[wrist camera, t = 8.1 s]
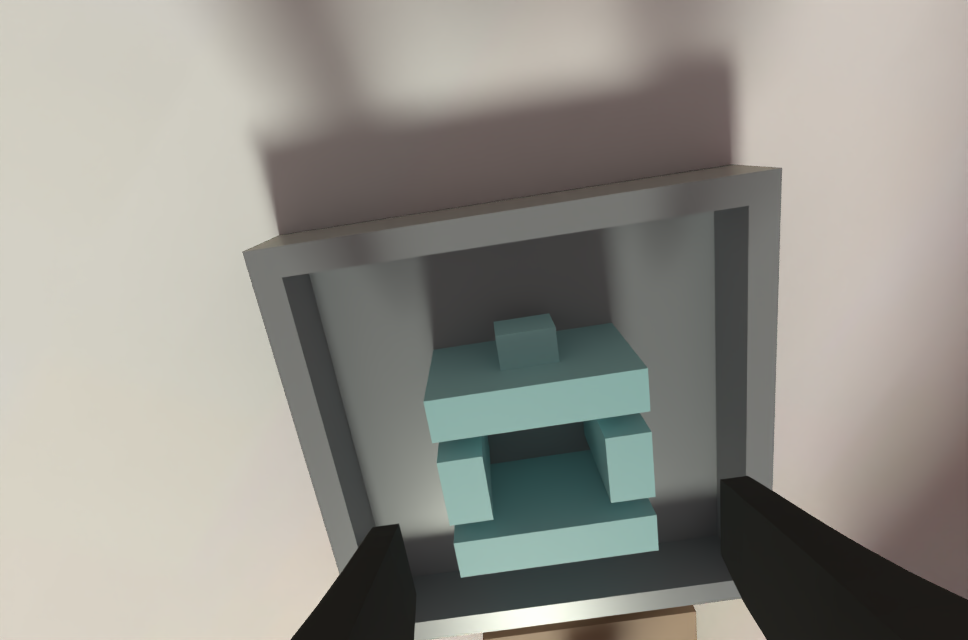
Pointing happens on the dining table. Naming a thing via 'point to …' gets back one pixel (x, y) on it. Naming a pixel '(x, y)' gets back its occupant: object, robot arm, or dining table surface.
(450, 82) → the dining table surface
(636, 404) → the collar
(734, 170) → the tray
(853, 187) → the dining table surface
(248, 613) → the dining table surface
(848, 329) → the dining table surface
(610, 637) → the stake board
